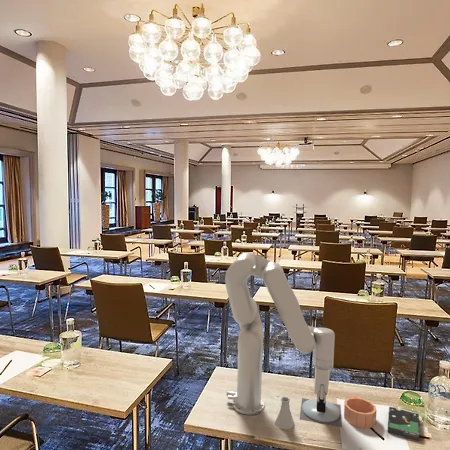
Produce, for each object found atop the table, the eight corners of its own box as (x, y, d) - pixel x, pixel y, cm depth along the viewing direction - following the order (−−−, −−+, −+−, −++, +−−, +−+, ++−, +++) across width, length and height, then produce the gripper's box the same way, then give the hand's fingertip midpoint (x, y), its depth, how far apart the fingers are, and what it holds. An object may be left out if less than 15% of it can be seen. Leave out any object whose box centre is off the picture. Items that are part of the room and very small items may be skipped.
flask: (280, 417, 134) (281, 391, 133) (298, 425, 129) (299, 398, 129) (270, 426, 128) (271, 399, 128) (288, 434, 124) (289, 407, 123)
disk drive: (388, 413, 140) (387, 433, 127) (388, 406, 140) (387, 426, 127) (418, 420, 135) (420, 443, 122) (418, 413, 135) (420, 435, 122)
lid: (301, 418, 132) (301, 404, 132) (303, 398, 146) (303, 385, 145) (340, 426, 128) (341, 411, 128) (339, 405, 142) (339, 391, 141)
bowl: (344, 426, 129) (345, 410, 129) (343, 410, 140) (344, 395, 140) (377, 433, 126) (378, 416, 126) (373, 415, 137) (374, 400, 137)
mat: (299, 421, 132) (299, 418, 132) (302, 399, 146) (302, 398, 146) (341, 429, 128) (342, 427, 128) (340, 406, 142) (340, 404, 142)
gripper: (313, 351, 145) (311, 394, 146) (312, 369, 129) (309, 418, 130) (333, 353, 143) (330, 397, 144) (333, 372, 127) (331, 422, 128)
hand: (321, 406), depth 137 cm, fingers open, 5 cm apart
